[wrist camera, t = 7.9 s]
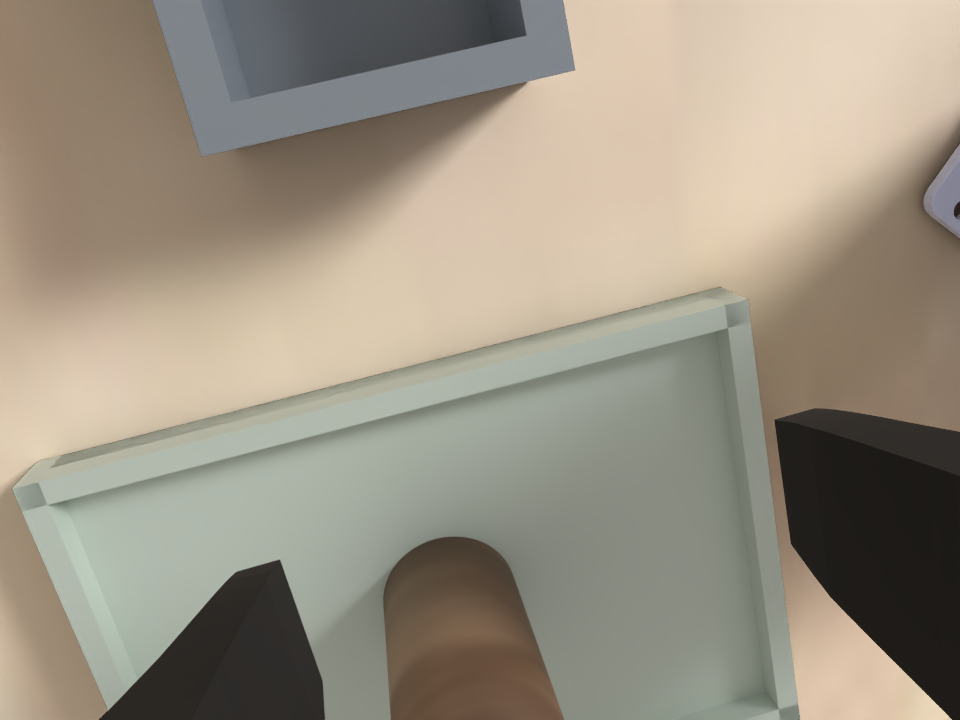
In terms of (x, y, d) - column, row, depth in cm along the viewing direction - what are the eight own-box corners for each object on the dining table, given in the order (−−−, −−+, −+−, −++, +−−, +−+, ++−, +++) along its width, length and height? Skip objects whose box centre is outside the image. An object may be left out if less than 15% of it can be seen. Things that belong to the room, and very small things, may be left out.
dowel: (540, 572, 23) (655, 847, 14) (469, 673, 23) (537, 996, 15) (429, 514, 22) (480, 769, 13) (358, 621, 22) (360, 933, 14)
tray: (720, 287, 22) (747, 299, 20) (773, 684, 26) (799, 720, 24) (37, 461, 21) (11, 488, 19) (202, 854, 24) (191, 903, 23)
